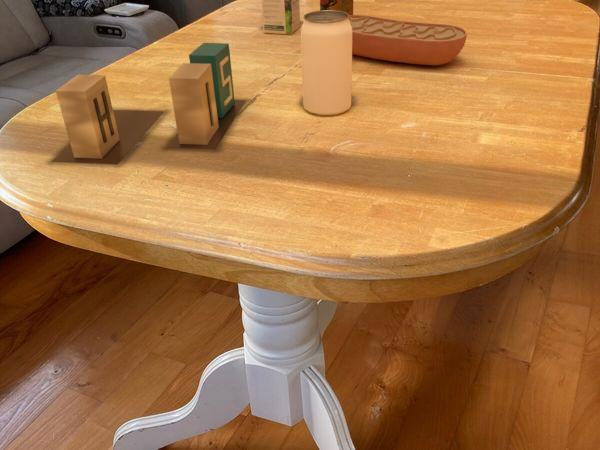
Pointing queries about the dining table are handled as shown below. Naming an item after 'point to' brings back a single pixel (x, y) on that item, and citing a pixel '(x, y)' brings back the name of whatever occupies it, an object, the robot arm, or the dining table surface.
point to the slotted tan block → (198, 108)
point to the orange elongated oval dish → (405, 40)
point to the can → (326, 62)
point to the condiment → (337, 5)
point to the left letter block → (98, 123)
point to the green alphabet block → (217, 73)
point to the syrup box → (280, 16)
